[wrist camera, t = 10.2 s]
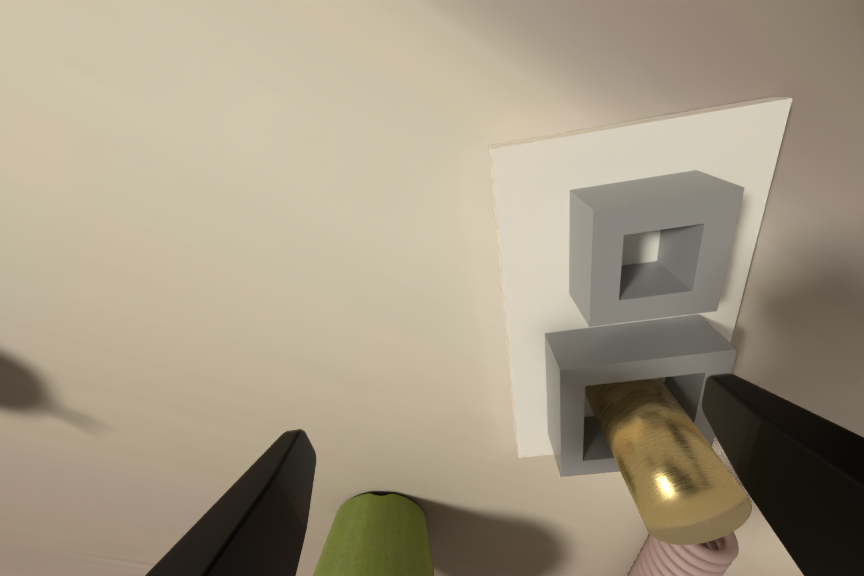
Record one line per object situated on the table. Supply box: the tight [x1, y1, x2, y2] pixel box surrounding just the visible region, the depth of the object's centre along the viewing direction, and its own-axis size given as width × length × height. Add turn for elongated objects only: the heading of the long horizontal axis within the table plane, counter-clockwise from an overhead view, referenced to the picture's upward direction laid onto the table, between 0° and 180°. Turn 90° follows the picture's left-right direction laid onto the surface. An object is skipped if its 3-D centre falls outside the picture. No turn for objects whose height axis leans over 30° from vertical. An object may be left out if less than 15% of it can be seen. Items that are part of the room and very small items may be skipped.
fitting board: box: [488, 97, 792, 477], centre depth 20 cm, size 12×20×4 cm, turn 9°
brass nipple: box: [585, 378, 752, 545], centre depth 19 cm, size 4×4×8 cm
